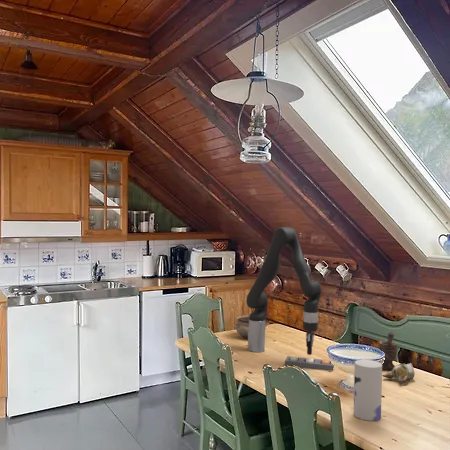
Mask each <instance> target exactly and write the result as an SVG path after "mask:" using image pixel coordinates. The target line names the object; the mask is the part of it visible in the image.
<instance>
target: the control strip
mask: <svg viewBox="0 0 450 450" xmlns="http://www.w3.org/2000/svg"><path fill="white" fill-rule="evenodd" d="M290 357H292V356H289V355H287V356H286V358H285V360H284V367H287V366H286V365H295V366H298V367H297V368H303V369H312V370H321V371H322V370H323V371H329V370H332V371H331V372H333V371H334V369H333V368H335V364H334V365H333V364H332V363H331V361H332V360H331V361H330V360H329V359H328V360H329V361H330V364H322V360H323V359H320V358H313V359H314V363H312V362H306V358H307V357H300V356H297V357H298V361H293V360H290Z"/></svg>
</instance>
